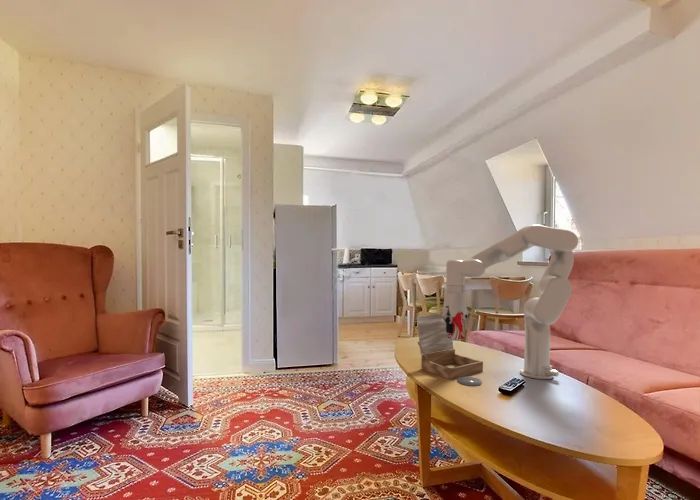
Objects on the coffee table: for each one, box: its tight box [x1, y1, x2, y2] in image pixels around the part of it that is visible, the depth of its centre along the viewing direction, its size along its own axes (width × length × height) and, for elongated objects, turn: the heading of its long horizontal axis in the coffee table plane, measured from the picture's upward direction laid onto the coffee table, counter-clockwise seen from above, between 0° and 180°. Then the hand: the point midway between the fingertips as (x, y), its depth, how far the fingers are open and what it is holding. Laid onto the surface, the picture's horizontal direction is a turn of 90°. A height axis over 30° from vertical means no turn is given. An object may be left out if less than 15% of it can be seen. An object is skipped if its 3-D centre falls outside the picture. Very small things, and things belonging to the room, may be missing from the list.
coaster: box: [457, 376, 483, 387], centre depth 158 cm, size 9×9×1 cm
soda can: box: [447, 311, 466, 342], centre depth 171 cm, size 7×7×12 cm
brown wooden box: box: [416, 313, 484, 380], centre depth 173 cm, size 19×21×22 cm
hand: (455, 331), depth 171 cm, fingers closed on soda can, 6 cm apart
